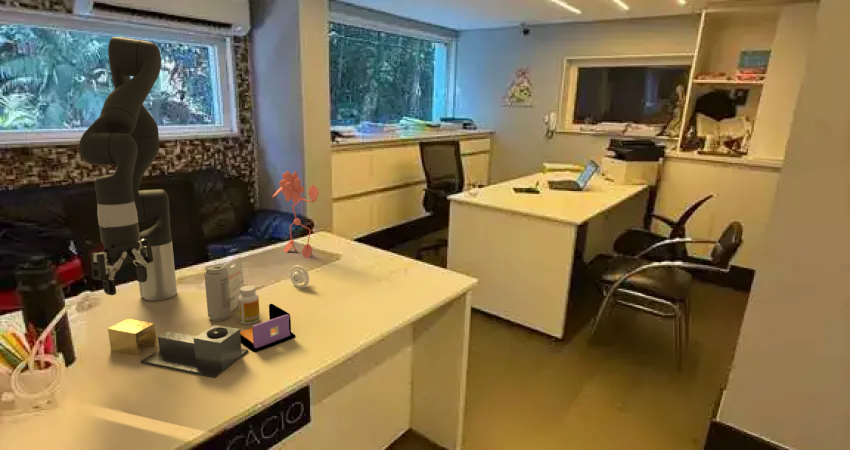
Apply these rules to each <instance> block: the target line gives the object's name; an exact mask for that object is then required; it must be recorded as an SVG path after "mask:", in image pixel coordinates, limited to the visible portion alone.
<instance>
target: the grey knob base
mask: <svg viewBox="0 0 850 450" xmlns="http://www.w3.org/2000/svg"><path fill="white" fill-rule="evenodd" d="M240 332H241V328H238V327H237V328H235V327H231V326H226V325H225V326H224V325H218V324H213V325H212V326H210V327H209V328H207V329H206V330H204V331H202V332H201V333H199V334H198V335H190V334H185V333H179V332H173V331H169V330H166V332H163V333H162V334H160V335H158V336H157V344H158V348H159V349H158V350H156V351H154V352H153V353H150V354H149V355H148V356H145V357H144V358H143V359H141V360H140V364H144V365H147V366H148V365H149V366H153V367H158V368H164V369H169V370H173V371H178V372H184V373H189V374H193V375H197V376H198V375H199V376H203V377H209V378H214V379H216V378H217V377H218V376H220V375H221V374H222V373H224V372H225V371H226V370H227V369H228V368H230V367H231V366H232V365H233V364H235V363H236V362H237V361H238V360H240V359H241V358H243V356H245V355H246V354H248V353H249V349H248V348H242V343H241V337H240Z"/></svg>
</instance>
